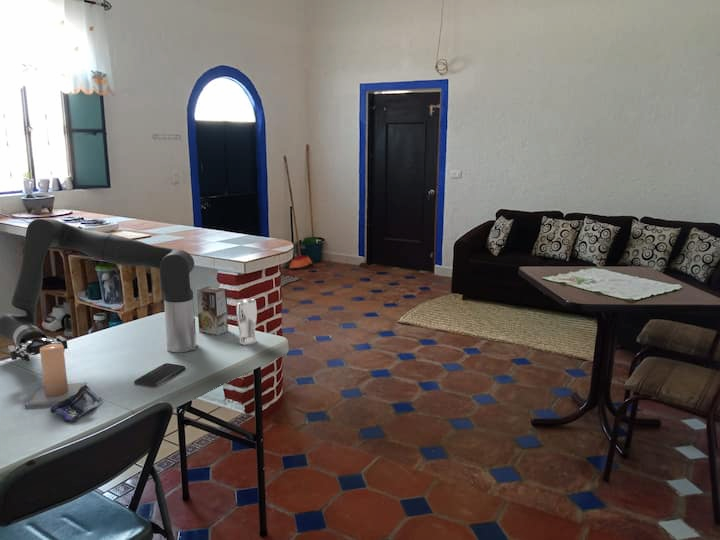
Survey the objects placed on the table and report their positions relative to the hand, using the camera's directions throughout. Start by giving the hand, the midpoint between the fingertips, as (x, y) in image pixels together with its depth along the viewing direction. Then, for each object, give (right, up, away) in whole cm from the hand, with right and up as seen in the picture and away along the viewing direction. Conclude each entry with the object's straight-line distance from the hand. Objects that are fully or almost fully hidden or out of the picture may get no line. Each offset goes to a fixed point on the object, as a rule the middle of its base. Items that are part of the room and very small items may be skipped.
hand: (44, 354), depth 154 cm
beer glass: (+49, -2, +40) cm, 63 cm away
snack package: (+16, -13, -12) cm, 24 cm away
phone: (+29, -9, +11) cm, 32 cm away
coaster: (+6, -11, -4) cm, 13 cm away
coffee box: (+34, +1, +51) cm, 61 cm away
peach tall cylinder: (+6, -10, -4) cm, 12 cm away
